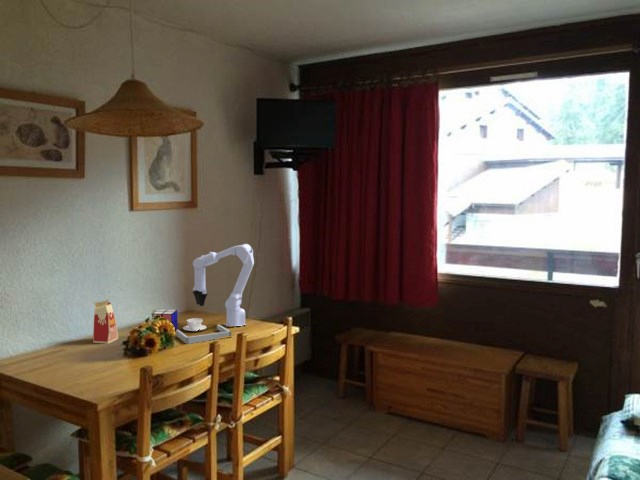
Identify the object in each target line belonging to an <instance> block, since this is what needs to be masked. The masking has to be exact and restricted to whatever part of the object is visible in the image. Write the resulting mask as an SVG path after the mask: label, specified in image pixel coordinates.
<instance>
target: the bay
mask: <svg viewBox="0 0 640 480" xmlns="http://www.w3.org/2000/svg"><path fill="white" fill-rule="evenodd" d="M217 330H219V331H221V332H219V331H218V332H214V333H208V334H200V335H191V336H188V335H186V334H185V333H184V332H183V331H182V330H179V329H176V330H175V336H176V337H177V338H180V339H179V340H180V341H182V342H183V343H185V344H186V345H188V344H189V345H191V344H196V342H198V343H203V342H202V341H205V342H209V340H211V341H214V340H213V339H217V338H220V337H226V336H231V337H232V331H231V330H230V329H228V328H226V327H224V325H223V326H222V325H221V324H216V331H217Z"/></svg>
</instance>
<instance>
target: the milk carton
mask: <svg viewBox="0 0 640 480" xmlns="http://www.w3.org/2000/svg"><path fill="white" fill-rule="evenodd" d="M109 300H110V299H106V300H102V301H96V302H95V301H94V302H93V304H94V311H93V312H94V313H93V314H94V315H93V329H92V332H93V335H92V336H93V338H92V339H93V341H92V342H93V343H95V344H107V345H108V344H110V343H113V342H115V341H116V340H118V339H119V334H118V326H117V322H116V321H117V320H116V317H115V312H114V309H113V305H112V303H111V302H110V301H109Z"/></svg>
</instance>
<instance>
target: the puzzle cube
mask: <svg viewBox="0 0 640 480" xmlns="http://www.w3.org/2000/svg"><path fill="white" fill-rule="evenodd" d="M154 313H155V314H156V315H158V316H161V317H164V318H166V319H168V320H169V321H170V322H171V323H172V324H173V325H174V327H175V329H176V330H178V323H179V322H178V310H177V309H165V308H164V309H160V308H159V309H157V310H156V311H155V312H153V313H152V314H151V315H152V318H151V319H153V315H154Z"/></svg>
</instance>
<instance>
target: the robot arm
mask: <svg viewBox="0 0 640 480" xmlns="http://www.w3.org/2000/svg"><path fill="white" fill-rule="evenodd" d="M230 255H232V256H237V257H238V258H239V259H240V260H241V262H242V267H241V270H240V273H239V275H238V277H237V280H236V283H235V285H234V287H233V289H232V292H230V295H229V297H228V298H227V299H226V300H225V302H224V307H225V308H226V323H224V324H223V326H225V325H226V326H225V327H227V326H241V327H243V326H242V325H246V311H245V309H244V308H241V305H242V298H243V293H244V290H245V288H246V285H247V283H248V280H249V278H250V274H251V273H252V270H253V267H254V265H255V259H254V249H253V248H252V246H251V245H250V244H248V243H243V244H239V245H235V246H232V247H229V248H226V249H224V250H222V251H220V252H214V251H210V252H208V254H207V253H206V254H203V255H201V256H200V257H197V258H195V259H194V260H193V261H192V266H193V268H194V271H193V273H194V286H193V288H192V293H193V296H194V298H195V301H196V302H195V303H196V305H199V307H204V306H205V302H206V298H207V297H208V292H207V291H208V290H207V288H206V283H207V282H206V267H208V266H211V265H213V264H216V263H218V262H219V261H220V259H222V258H225V257H227V256H230Z"/></svg>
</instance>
